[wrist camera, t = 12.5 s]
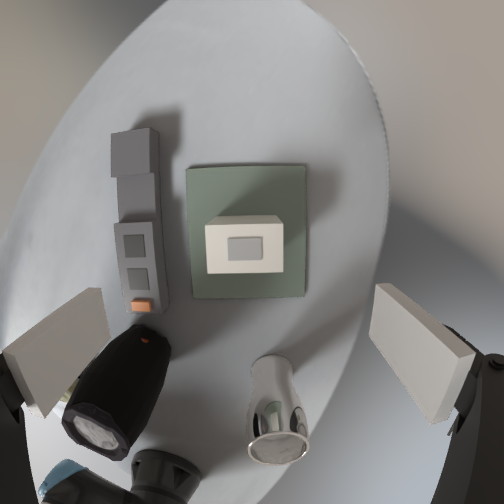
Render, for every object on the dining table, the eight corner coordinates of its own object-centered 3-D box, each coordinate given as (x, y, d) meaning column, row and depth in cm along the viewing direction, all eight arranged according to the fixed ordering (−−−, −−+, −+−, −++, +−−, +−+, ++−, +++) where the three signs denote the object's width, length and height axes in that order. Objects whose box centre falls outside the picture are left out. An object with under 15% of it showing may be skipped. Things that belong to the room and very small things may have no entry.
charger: (276, 252, 34) (283, 272, 26) (217, 253, 34) (207, 274, 26) (276, 214, 33) (283, 223, 25) (216, 216, 33) (204, 225, 25)
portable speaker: (142, 308, 37) (73, 394, 18) (187, 354, 38) (151, 457, 20) (110, 337, 38) (44, 417, 19) (152, 378, 39) (109, 470, 21)
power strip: (169, 303, 36) (160, 316, 32) (135, 302, 36) (124, 314, 32) (159, 132, 31) (147, 126, 27) (123, 137, 31) (108, 133, 27)
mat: (303, 294, 36) (304, 296, 35) (194, 296, 36) (193, 298, 36) (304, 166, 32) (305, 165, 32) (186, 169, 33) (185, 169, 32)
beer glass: (295, 350, 38) (314, 427, 23) (295, 387, 39) (309, 463, 25) (246, 353, 38) (242, 432, 23) (249, 389, 40) (247, 467, 25)
